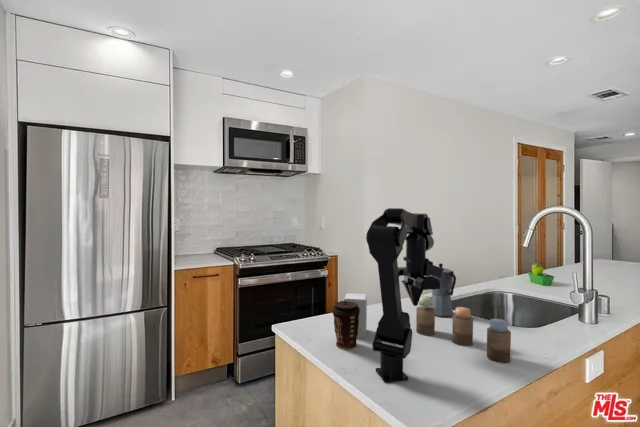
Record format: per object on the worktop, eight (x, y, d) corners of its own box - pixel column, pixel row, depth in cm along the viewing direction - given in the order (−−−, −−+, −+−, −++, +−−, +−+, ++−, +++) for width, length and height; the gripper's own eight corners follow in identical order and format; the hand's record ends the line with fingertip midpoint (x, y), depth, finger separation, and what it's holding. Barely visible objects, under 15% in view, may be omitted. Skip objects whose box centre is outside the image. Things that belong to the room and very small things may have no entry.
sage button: (435, 306, 114) (435, 299, 114) (423, 307, 113) (423, 299, 113) (428, 302, 119) (428, 295, 119) (416, 303, 118) (416, 296, 118)
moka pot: (438, 307, 144) (439, 260, 143) (466, 318, 130) (467, 266, 129) (420, 309, 140) (420, 261, 140) (446, 322, 126) (447, 268, 125)
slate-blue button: (511, 332, 95) (511, 323, 95) (497, 333, 94) (498, 324, 94) (499, 326, 99) (500, 318, 99) (486, 327, 98) (486, 319, 98)
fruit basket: (555, 285, 181) (556, 264, 180) (540, 286, 180) (541, 265, 179) (538, 280, 192) (539, 261, 192) (524, 281, 191) (525, 261, 190)
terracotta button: (473, 318, 106) (473, 310, 106) (461, 319, 105) (461, 311, 105) (464, 313, 110) (464, 306, 110) (452, 314, 109) (452, 307, 109)
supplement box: (365, 338, 111) (365, 299, 111) (343, 336, 113) (343, 298, 112) (367, 329, 118) (367, 293, 118) (346, 328, 120) (346, 292, 120)
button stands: (517, 356, 98) (518, 329, 98) (504, 365, 93) (505, 336, 93) (427, 326, 122) (427, 304, 122) (412, 331, 117) (412, 308, 117)
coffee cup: (343, 337, 112) (343, 298, 111) (365, 344, 106) (365, 303, 106) (327, 346, 105) (327, 304, 104) (349, 353, 100) (349, 310, 99)
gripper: (458, 258, 96) (457, 313, 96) (424, 249, 114) (423, 295, 114) (422, 260, 93) (421, 316, 94) (393, 250, 111) (392, 297, 112)
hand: (415, 305), depth 104 cm, fingers closed
